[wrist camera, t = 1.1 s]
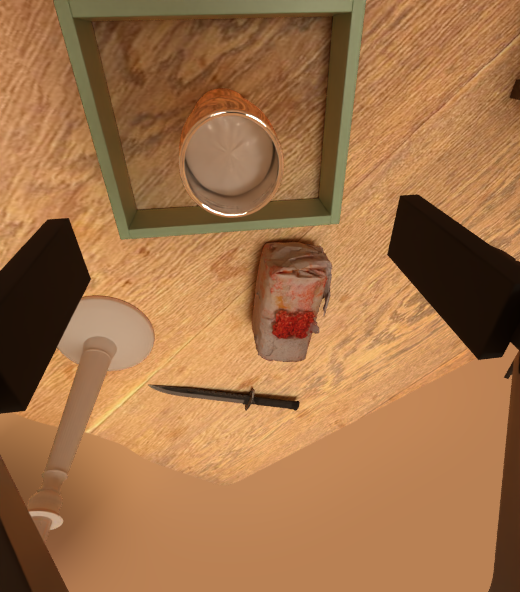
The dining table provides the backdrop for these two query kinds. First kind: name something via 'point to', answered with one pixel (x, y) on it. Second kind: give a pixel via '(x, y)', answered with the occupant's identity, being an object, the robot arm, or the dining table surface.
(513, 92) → the stool
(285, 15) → the green rectangular open frame
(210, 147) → the beer glass
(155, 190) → the dining table surface
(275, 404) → the knife
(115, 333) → the candlestick
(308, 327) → the food item
